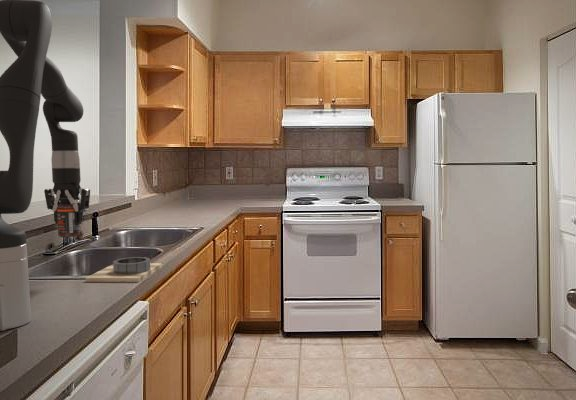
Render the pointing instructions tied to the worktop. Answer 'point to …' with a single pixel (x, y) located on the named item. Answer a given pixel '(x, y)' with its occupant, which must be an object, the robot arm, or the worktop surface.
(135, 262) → the collar
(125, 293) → the worktop surface
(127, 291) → the worktop surface
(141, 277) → the base board
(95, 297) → the worktop surface
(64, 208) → the supplement bottle
